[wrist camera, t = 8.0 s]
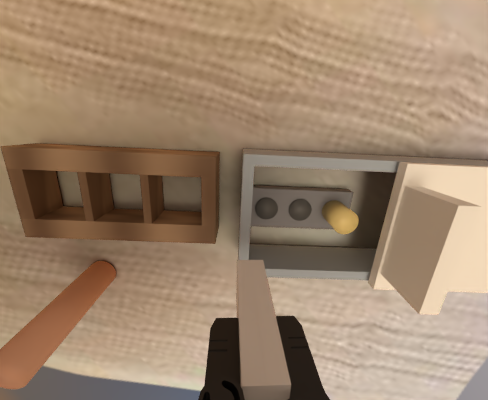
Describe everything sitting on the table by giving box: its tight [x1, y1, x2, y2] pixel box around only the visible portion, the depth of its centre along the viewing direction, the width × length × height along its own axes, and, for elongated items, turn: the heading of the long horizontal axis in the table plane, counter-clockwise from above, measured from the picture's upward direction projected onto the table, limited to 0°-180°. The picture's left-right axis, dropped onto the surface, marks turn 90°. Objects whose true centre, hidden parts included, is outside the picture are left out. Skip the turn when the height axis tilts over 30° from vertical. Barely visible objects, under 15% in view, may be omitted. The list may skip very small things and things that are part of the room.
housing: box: [238, 149, 488, 280], centre depth 19 cm, size 22×10×4 cm, turn 87°
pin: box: [0, 261, 116, 389], centre depth 18 cm, size 3×3×10 cm
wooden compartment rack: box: [0, 143, 220, 244], centre depth 19 cm, size 15×7×3 cm, turn 87°
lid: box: [368, 162, 488, 315], centre depth 15 cm, size 10×10×5 cm
